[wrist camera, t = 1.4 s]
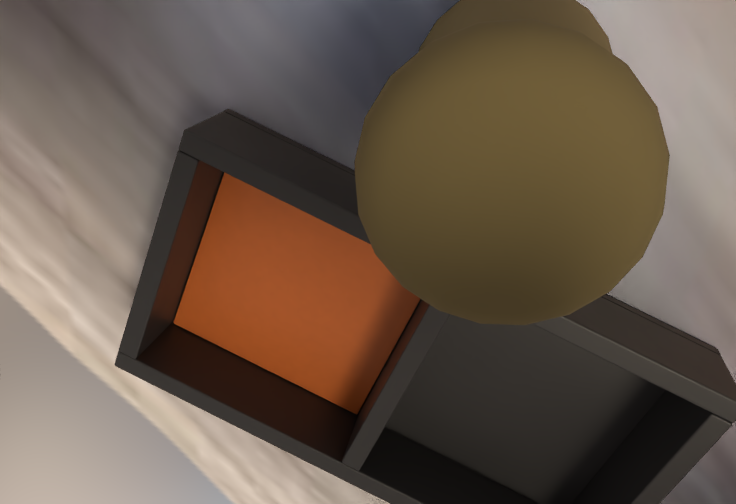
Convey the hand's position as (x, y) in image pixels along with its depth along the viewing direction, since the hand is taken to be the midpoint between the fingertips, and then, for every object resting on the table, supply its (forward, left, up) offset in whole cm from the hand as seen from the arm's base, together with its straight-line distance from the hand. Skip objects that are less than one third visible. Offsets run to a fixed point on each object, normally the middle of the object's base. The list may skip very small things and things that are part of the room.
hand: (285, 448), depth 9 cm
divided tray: (-2, +5, -14) cm, 15 cm away
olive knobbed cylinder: (-1, -4, -14) cm, 14 cm away
